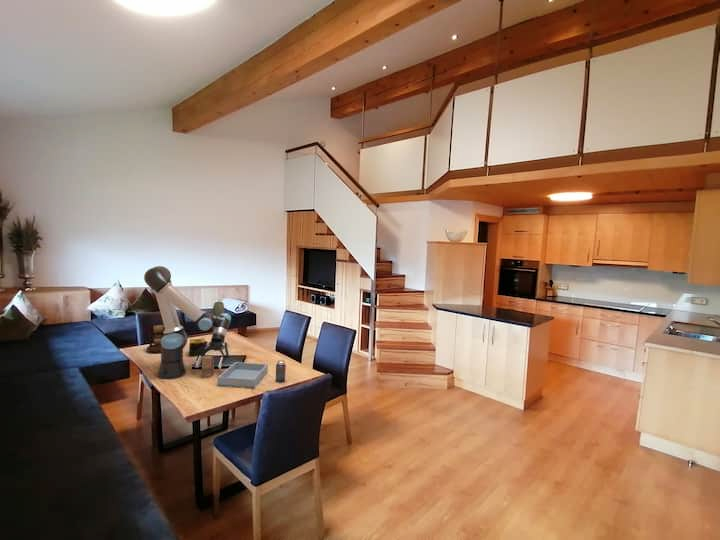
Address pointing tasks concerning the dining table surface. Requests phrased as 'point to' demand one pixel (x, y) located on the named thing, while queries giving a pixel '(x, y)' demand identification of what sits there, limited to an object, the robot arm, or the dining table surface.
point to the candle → (195, 346)
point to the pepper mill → (280, 371)
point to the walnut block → (207, 366)
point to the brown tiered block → (156, 338)
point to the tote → (243, 375)
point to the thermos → (218, 313)
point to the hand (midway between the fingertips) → (208, 367)
